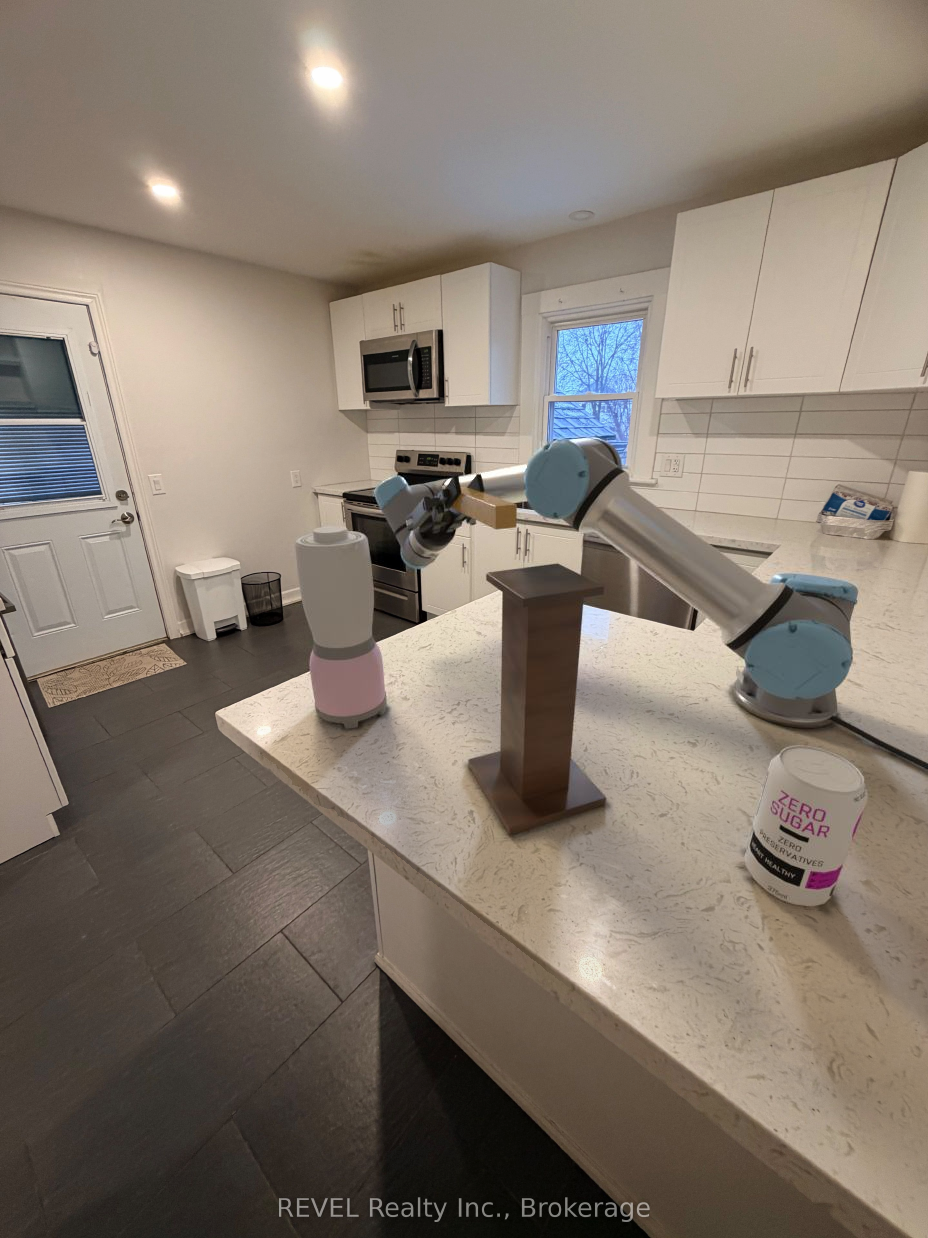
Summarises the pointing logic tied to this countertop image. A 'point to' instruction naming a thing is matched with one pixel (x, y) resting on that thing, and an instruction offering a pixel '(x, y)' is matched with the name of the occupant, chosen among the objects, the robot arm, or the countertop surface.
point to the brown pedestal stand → (538, 699)
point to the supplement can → (805, 824)
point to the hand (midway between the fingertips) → (469, 483)
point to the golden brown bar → (486, 508)
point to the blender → (341, 624)
